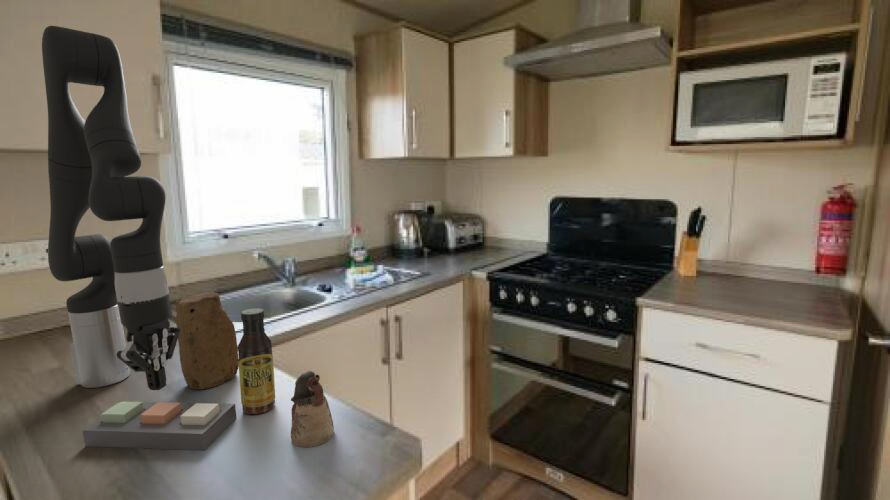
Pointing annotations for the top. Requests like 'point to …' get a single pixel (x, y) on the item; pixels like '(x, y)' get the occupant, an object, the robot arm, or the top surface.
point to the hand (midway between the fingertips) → (157, 388)
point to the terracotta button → (161, 413)
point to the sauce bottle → (255, 364)
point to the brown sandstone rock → (206, 341)
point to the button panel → (160, 431)
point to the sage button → (122, 412)
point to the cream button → (200, 414)
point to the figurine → (310, 412)
